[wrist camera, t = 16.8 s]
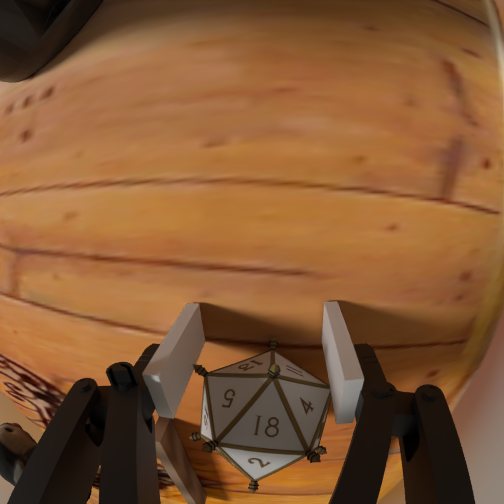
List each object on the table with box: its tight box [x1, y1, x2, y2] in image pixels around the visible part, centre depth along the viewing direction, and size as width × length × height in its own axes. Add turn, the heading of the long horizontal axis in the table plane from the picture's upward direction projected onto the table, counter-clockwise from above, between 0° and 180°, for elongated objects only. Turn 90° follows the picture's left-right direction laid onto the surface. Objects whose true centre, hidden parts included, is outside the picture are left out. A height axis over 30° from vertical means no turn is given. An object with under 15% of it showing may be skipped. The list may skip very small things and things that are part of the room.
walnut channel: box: [155, 416, 207, 504], centre depth 20 cm, size 18×18×3 cm
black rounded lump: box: [0, 423, 92, 503], centre depth 25 cm, size 20×21×13 cm
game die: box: [189, 337, 332, 494], centre depth 14 cm, size 9×8×10 cm
